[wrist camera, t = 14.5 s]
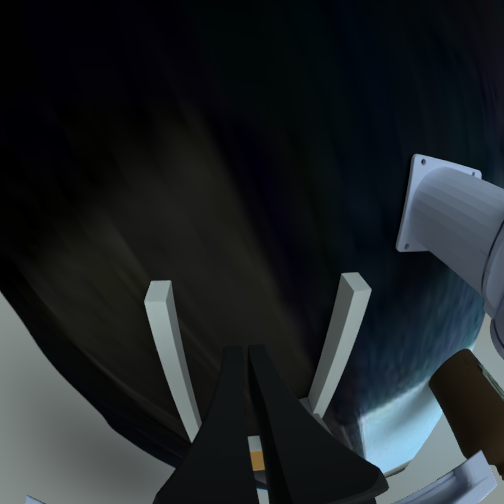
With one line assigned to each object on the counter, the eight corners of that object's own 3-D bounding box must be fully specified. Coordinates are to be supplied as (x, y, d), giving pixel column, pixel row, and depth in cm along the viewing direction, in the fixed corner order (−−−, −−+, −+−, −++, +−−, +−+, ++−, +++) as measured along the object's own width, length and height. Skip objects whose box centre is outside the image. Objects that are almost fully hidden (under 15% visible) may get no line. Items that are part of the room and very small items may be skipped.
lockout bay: (357, 272, 21) (390, 314, 16) (303, 433, 34) (311, 462, 29) (151, 281, 19) (134, 332, 14) (197, 441, 32) (198, 473, 27)
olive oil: (431, 394, 37) (481, 491, 14) (419, 380, 32) (482, 501, 10) (473, 357, 34) (533, 449, 12) (469, 336, 30) (545, 447, 8)
